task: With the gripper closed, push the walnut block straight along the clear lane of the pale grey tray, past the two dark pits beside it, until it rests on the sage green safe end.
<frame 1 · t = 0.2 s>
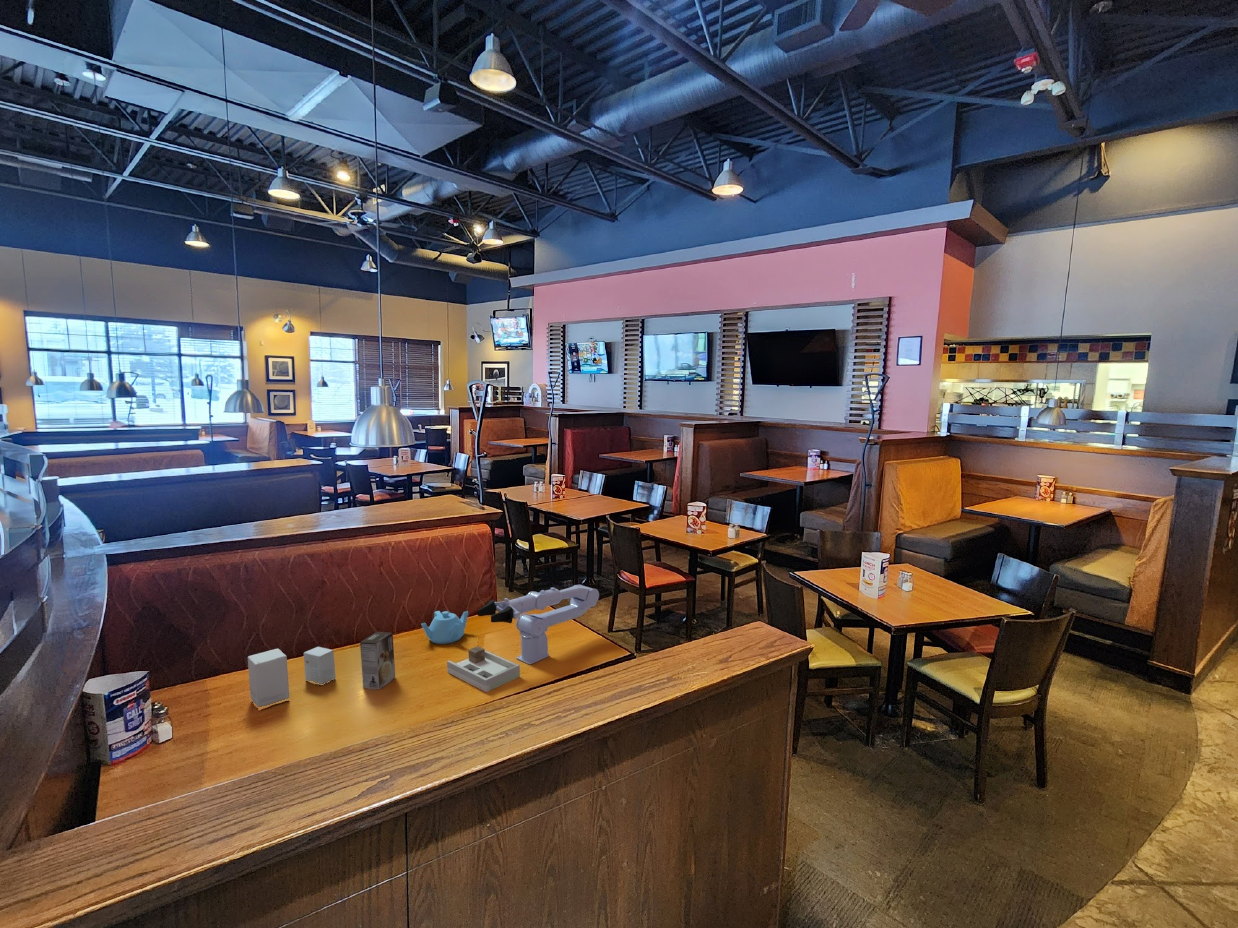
hand: (484, 616, 195), 21 cm above the table, tool horizontal, fingers open, 7 cm apart
supplement box: (270, 701, 182), on the table
walnut block: (476, 660, 205), point 2 cm above the table, touching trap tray
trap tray: (483, 674, 199), on the table
coffee box: (379, 683, 193), on the table
small box: (320, 681, 195), on the table
teapot: (446, 638, 230), on the table
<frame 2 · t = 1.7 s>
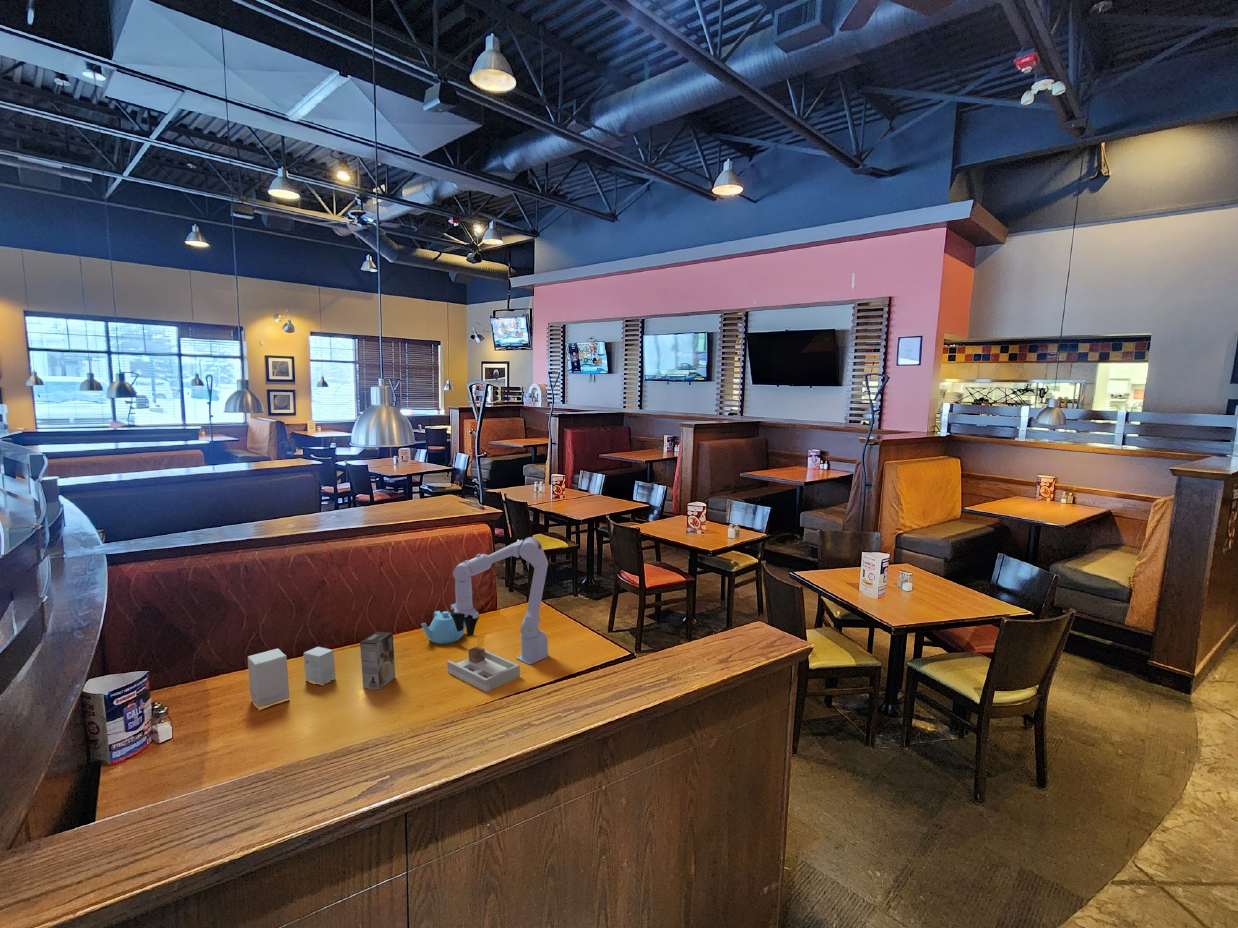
hand: (465, 632, 209), 10 cm above the table, tool pointing down, fingers open, 6 cm apart
nothing on the table moved.
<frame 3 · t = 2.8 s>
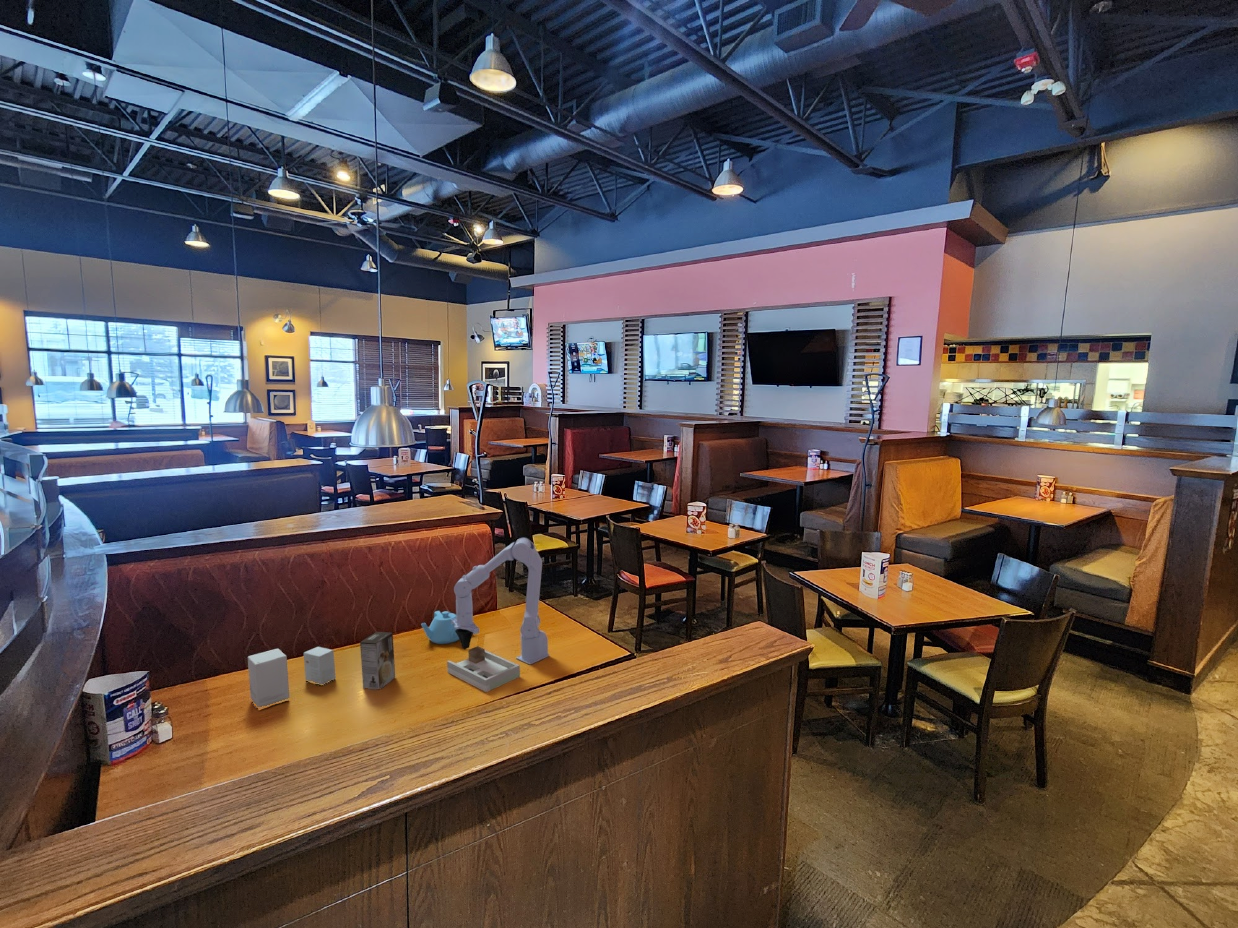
hand: (465, 647, 209), 5 cm above the table, tool pointing down, fingers closed
nothing on the table moved.
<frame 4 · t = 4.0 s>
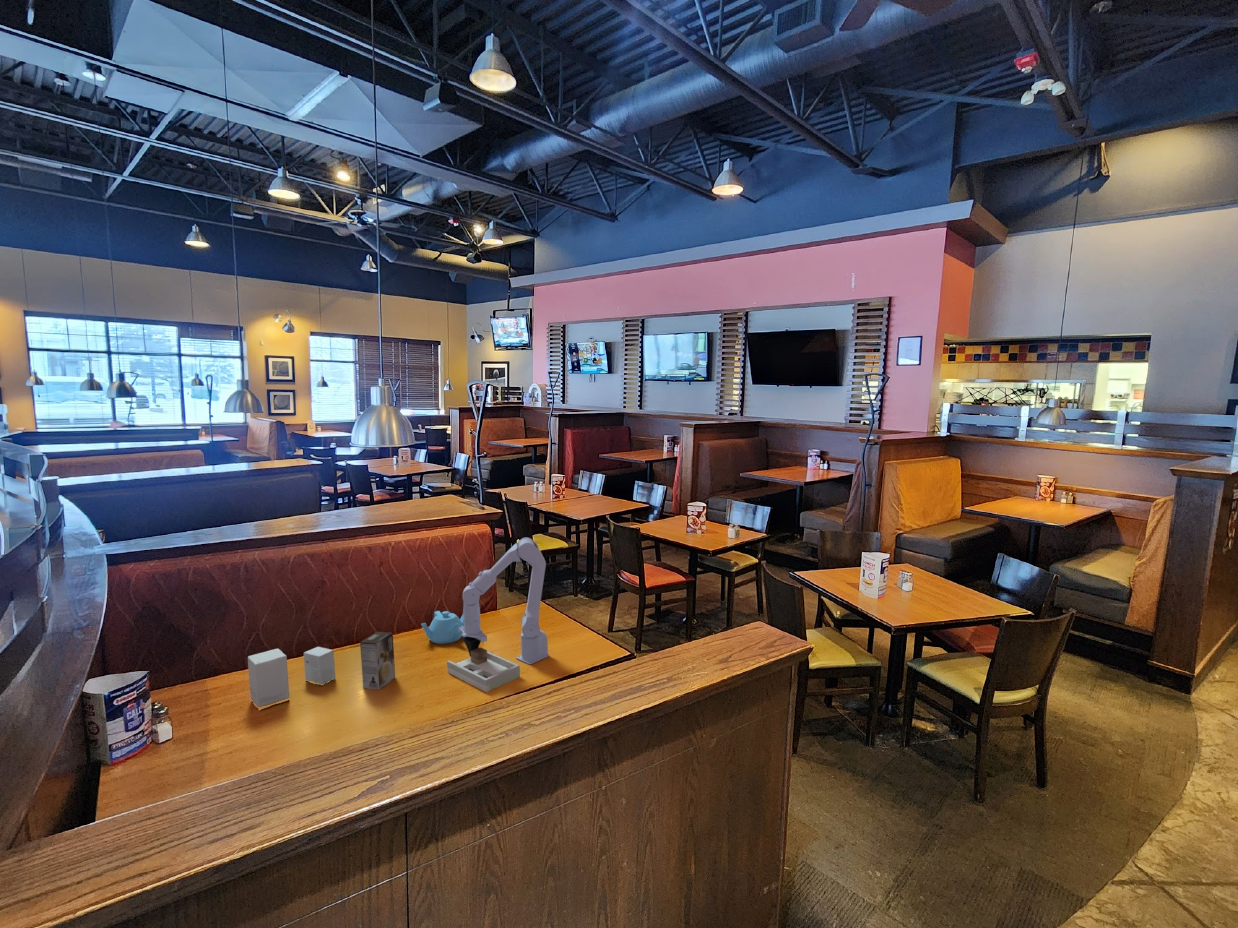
hand: (473, 656, 207), 3 cm above the table, tool pointing down, fingers closed
walnut block: (479, 661, 204), point 2 cm above the table, touching gripper
everything else where it was.
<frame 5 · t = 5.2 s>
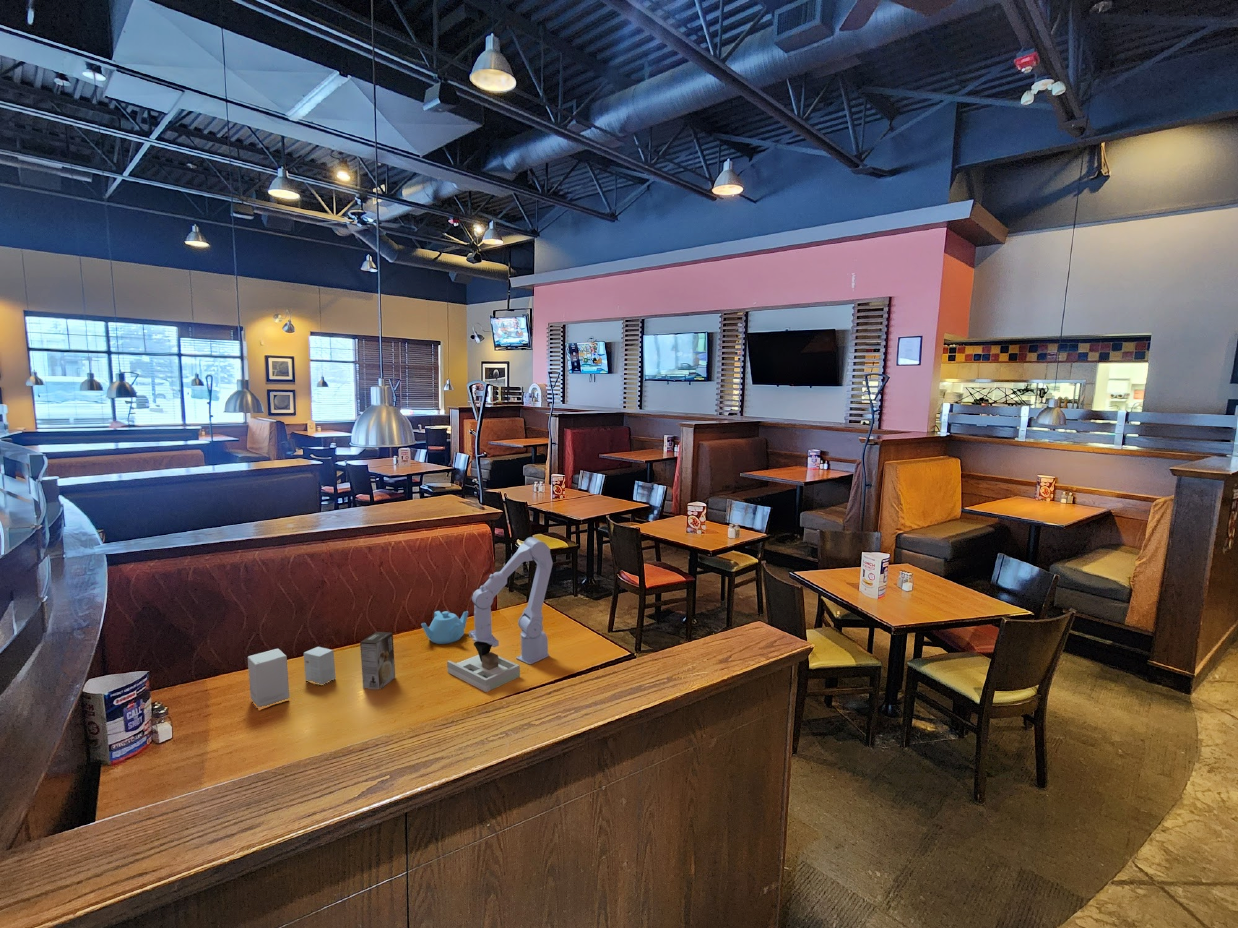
hand: (484, 661, 202), 3 cm above the table, tool pointing down, fingers closed
walnut block: (490, 666, 200), point 2 cm above the table, touching gripper, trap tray
everything else where it was.
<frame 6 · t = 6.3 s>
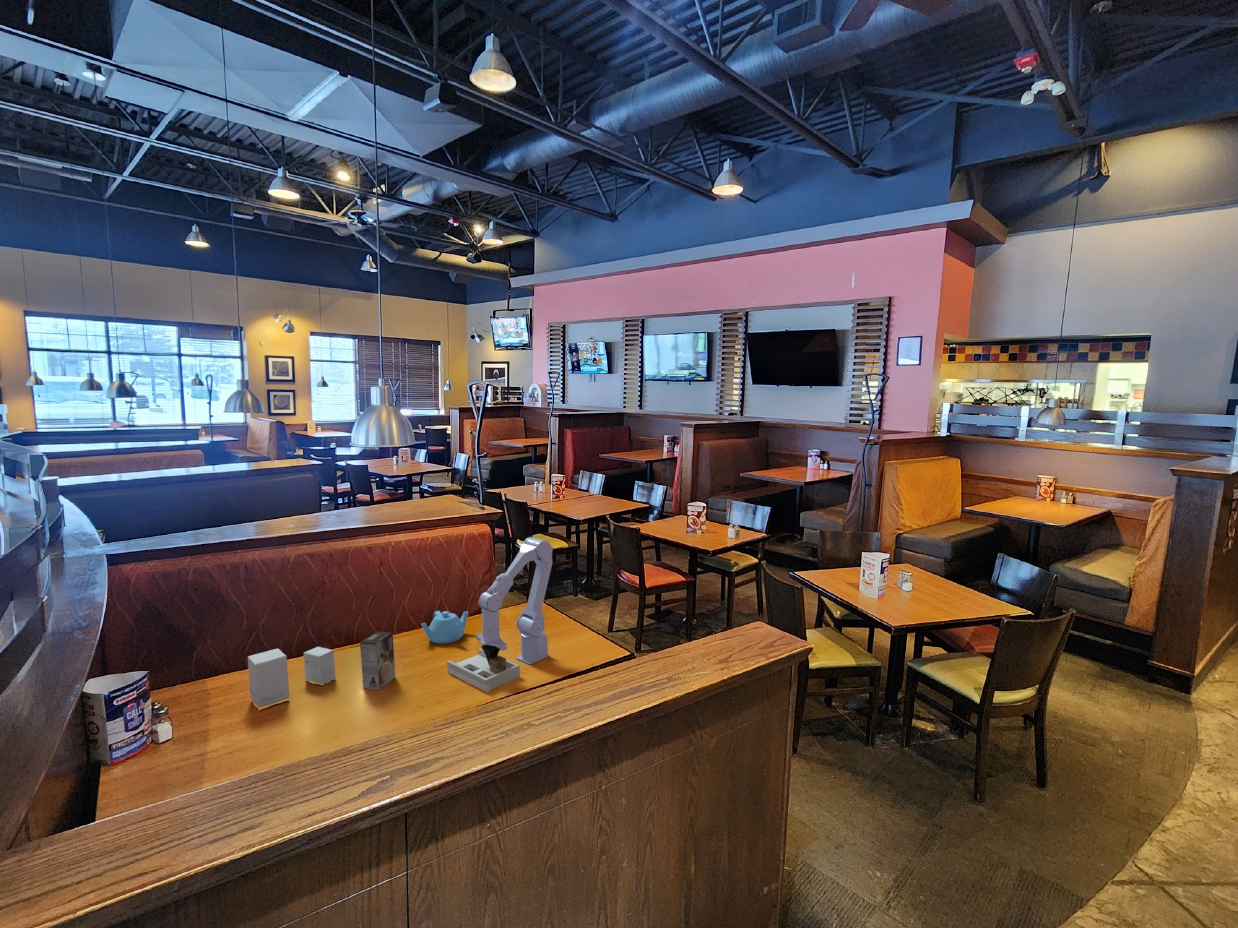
hand: (492, 664, 199), 3 cm above the table, tool pointing down, fingers closed
walnut block: (498, 670, 197), point 2 cm above the table, touching gripper, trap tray
everything else where it was.
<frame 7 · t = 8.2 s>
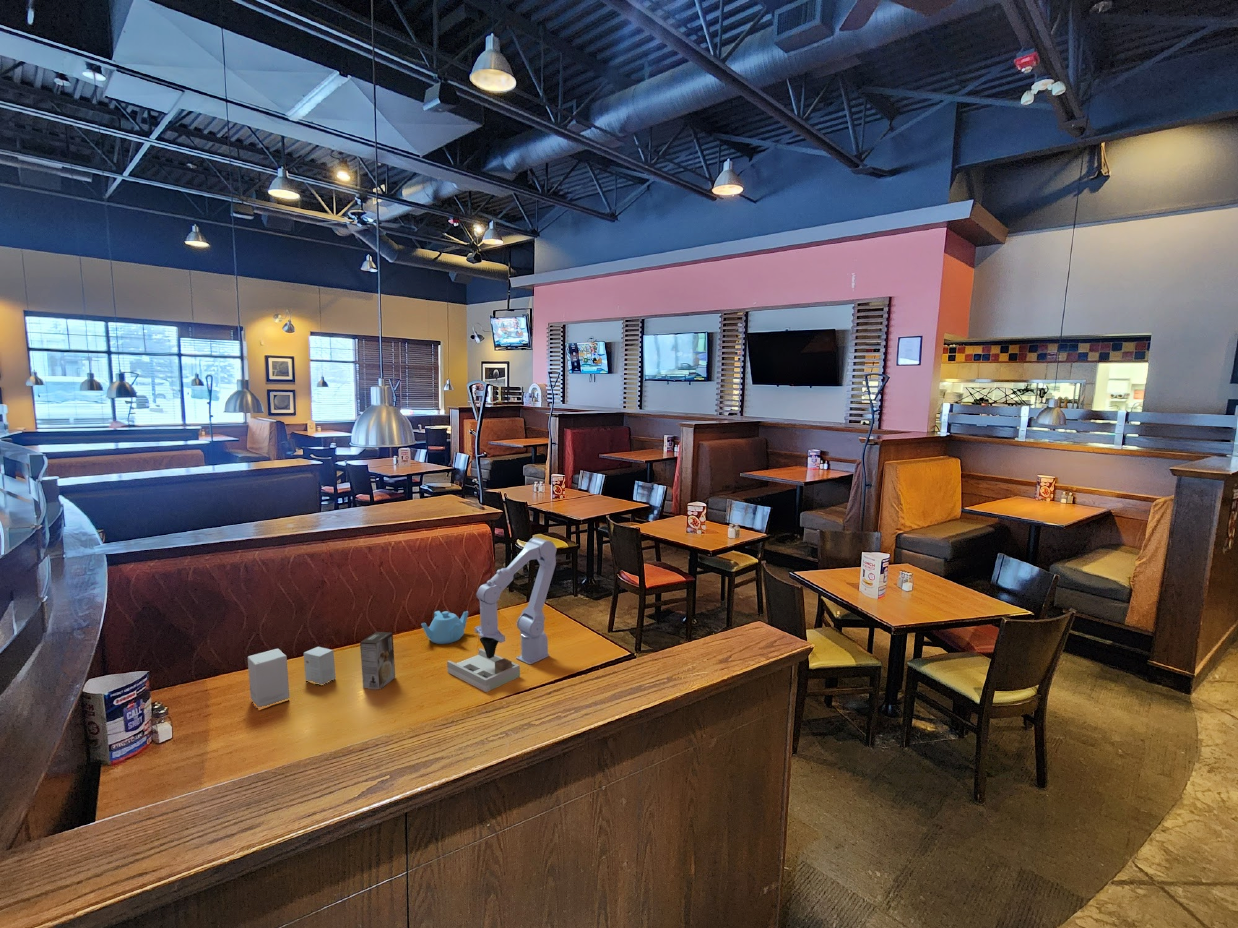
hand: (490, 656, 200), 5 cm above the table, tool pointing down, fingers closed
walnut block: (503, 672, 195), point 2 cm above the table, touching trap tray
everything else where it was.
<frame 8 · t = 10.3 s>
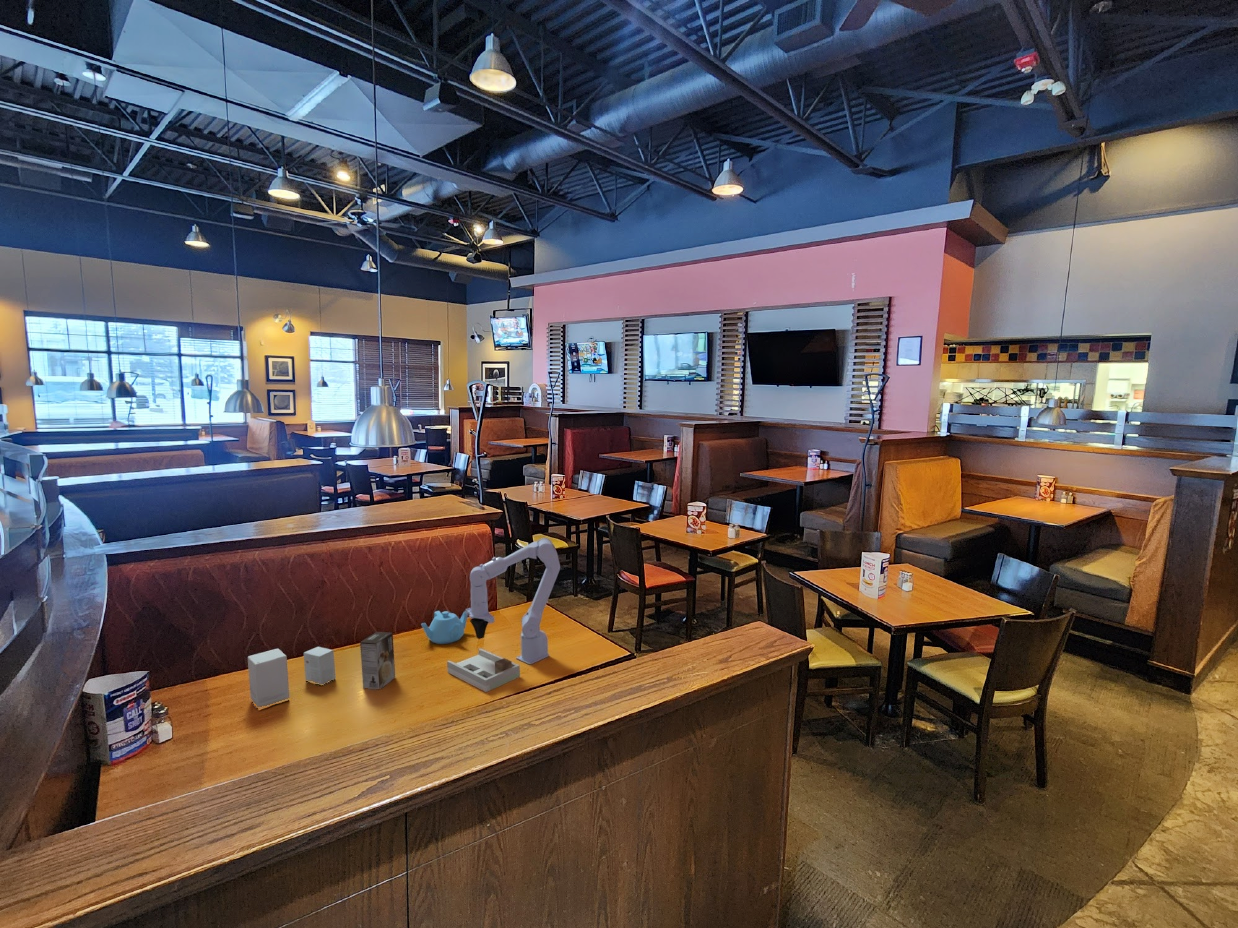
hand: (480, 637, 207), 9 cm above the table, tool pointing down, fingers closed
nothing on the table moved.
at the end: walnut block 0.5 cm from the target spot on the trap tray, point 2.0 cm above the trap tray's base; walnut block tilted 0° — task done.
